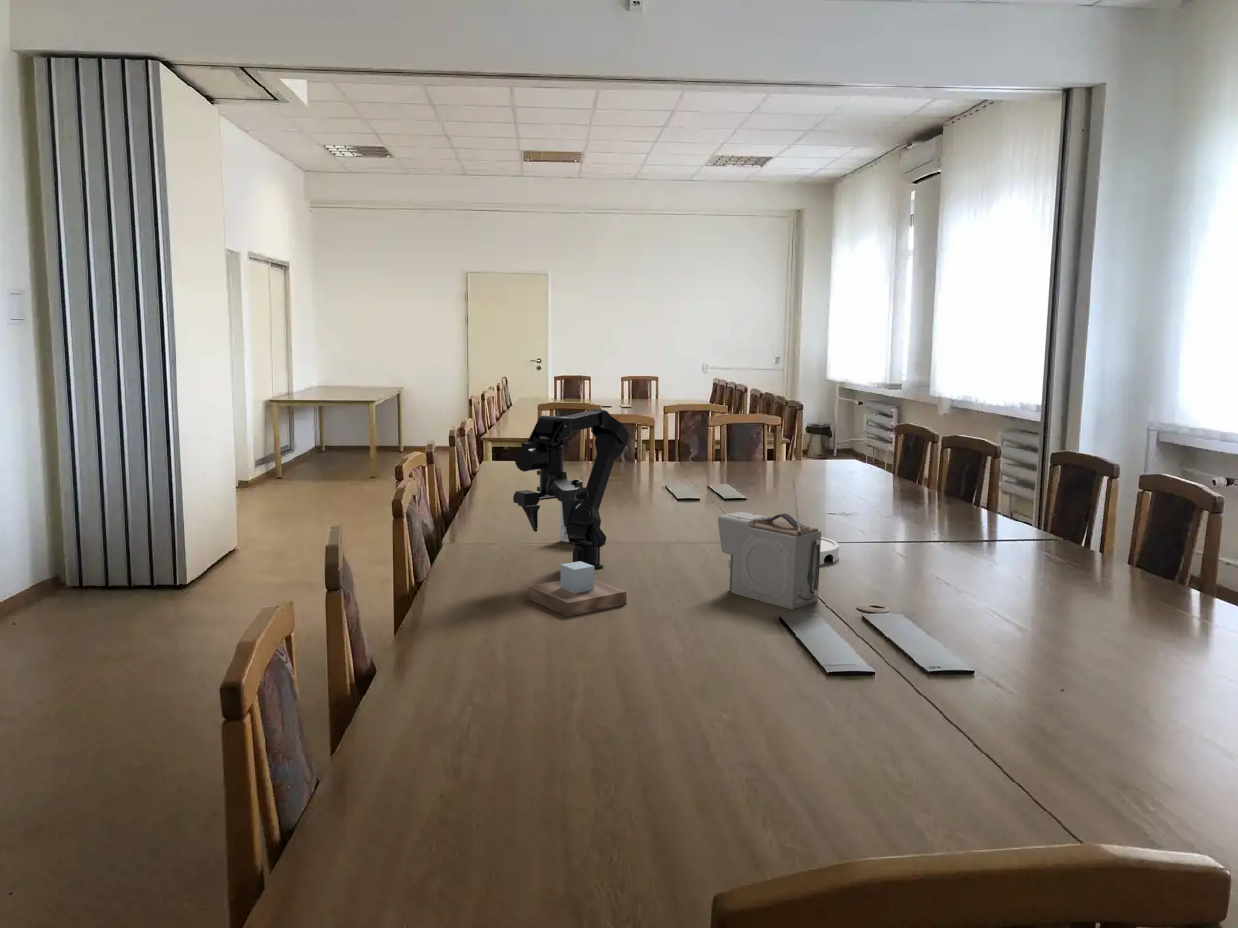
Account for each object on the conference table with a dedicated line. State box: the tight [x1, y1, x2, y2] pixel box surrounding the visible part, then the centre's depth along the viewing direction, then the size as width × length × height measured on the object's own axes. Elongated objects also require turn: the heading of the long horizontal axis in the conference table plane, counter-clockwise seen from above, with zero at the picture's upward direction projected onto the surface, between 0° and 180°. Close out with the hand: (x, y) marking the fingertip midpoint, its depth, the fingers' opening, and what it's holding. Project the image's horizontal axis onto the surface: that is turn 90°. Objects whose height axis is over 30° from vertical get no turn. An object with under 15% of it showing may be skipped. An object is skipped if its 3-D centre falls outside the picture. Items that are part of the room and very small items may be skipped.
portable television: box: [717, 478, 822, 610], centre depth 213 cm, size 12×24×30 cm, turn 45°
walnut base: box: [528, 578, 627, 617], centre depth 207 cm, size 16×16×3 cm
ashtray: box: [820, 536, 840, 566], centre depth 256 cm, size 23×23×4 cm
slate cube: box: [560, 561, 595, 593], centre depth 207 cm, size 6×6×6 cm
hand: (551, 529), depth 225 cm, fingers open, 9 cm apart
